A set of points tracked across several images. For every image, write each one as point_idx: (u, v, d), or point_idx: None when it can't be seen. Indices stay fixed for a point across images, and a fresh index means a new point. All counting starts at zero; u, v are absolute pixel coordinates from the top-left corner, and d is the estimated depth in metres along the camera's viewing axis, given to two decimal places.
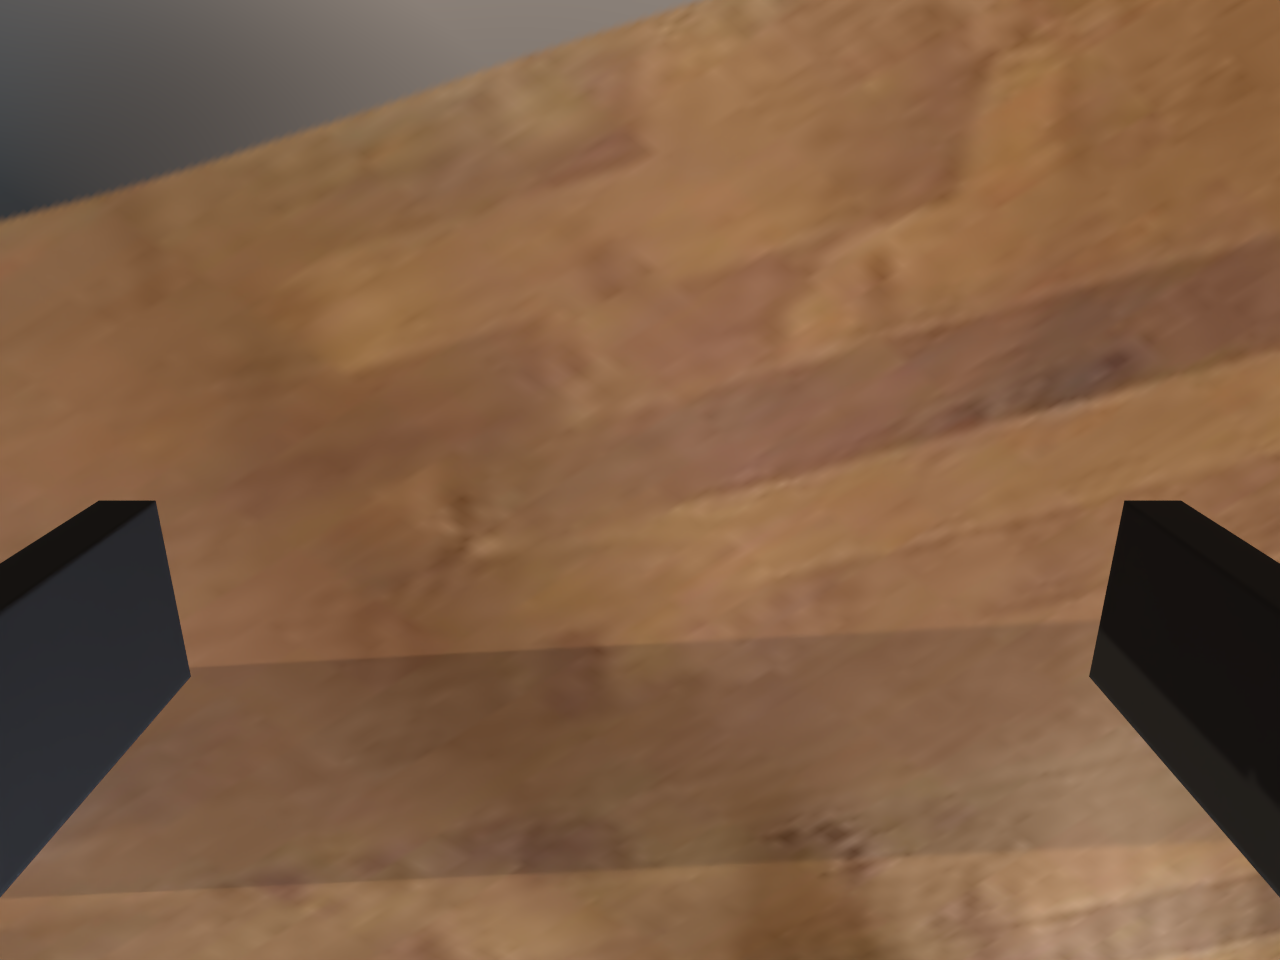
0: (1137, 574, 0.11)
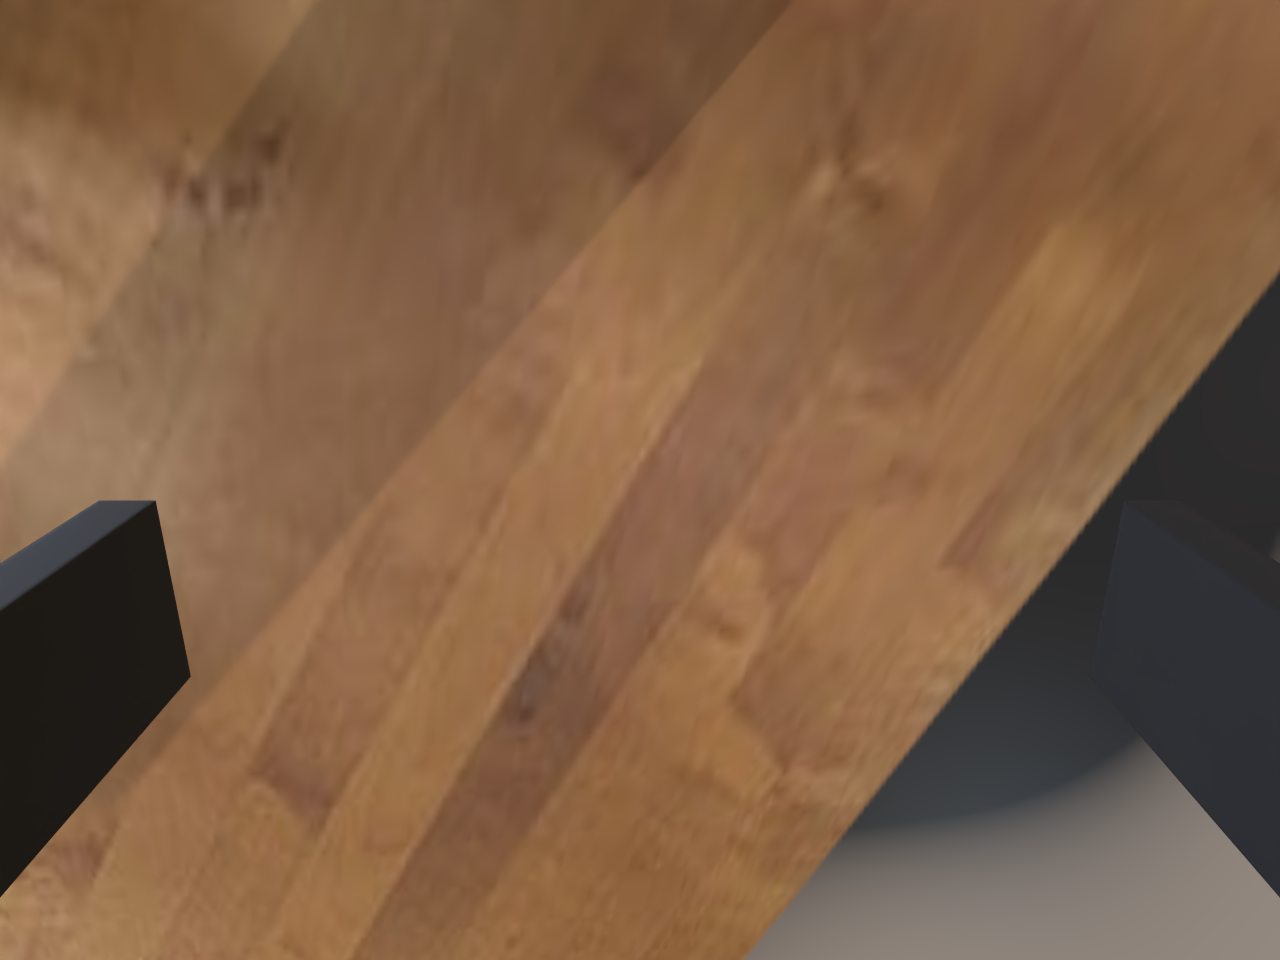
0: (1137, 574, 0.11)
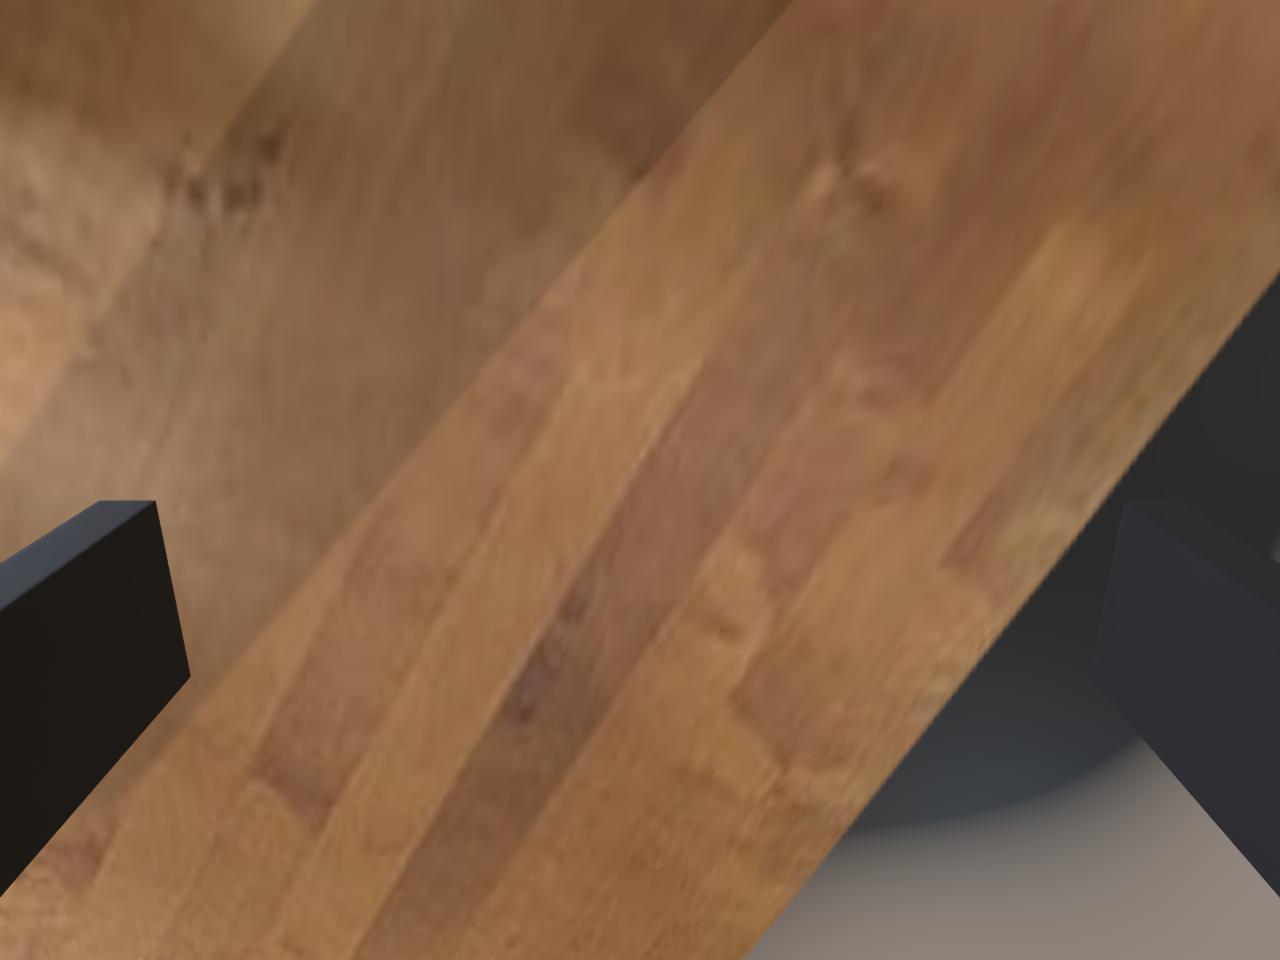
0: (1137, 574, 0.11)
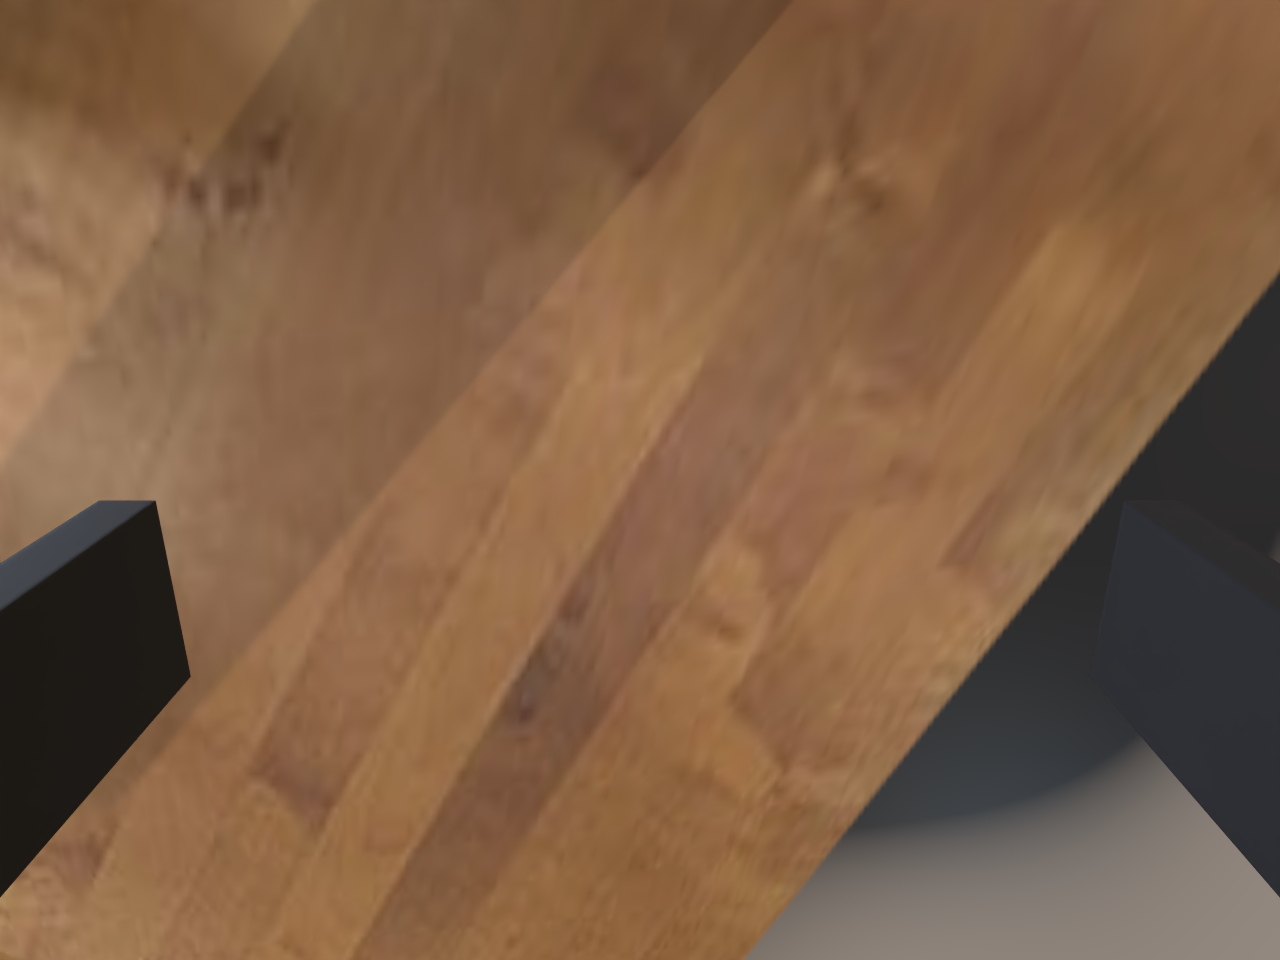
0: (1137, 574, 0.11)
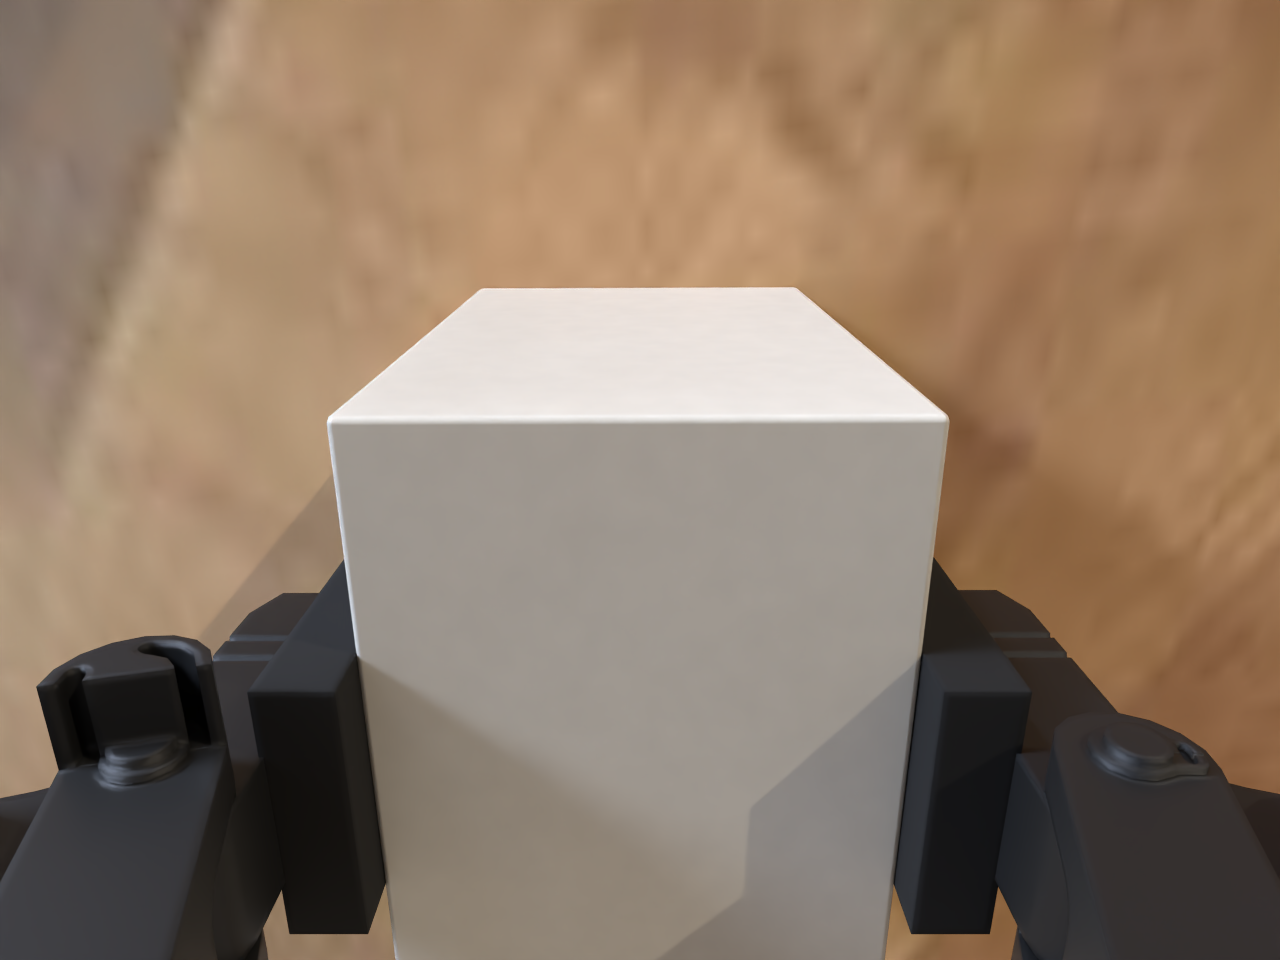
0: None
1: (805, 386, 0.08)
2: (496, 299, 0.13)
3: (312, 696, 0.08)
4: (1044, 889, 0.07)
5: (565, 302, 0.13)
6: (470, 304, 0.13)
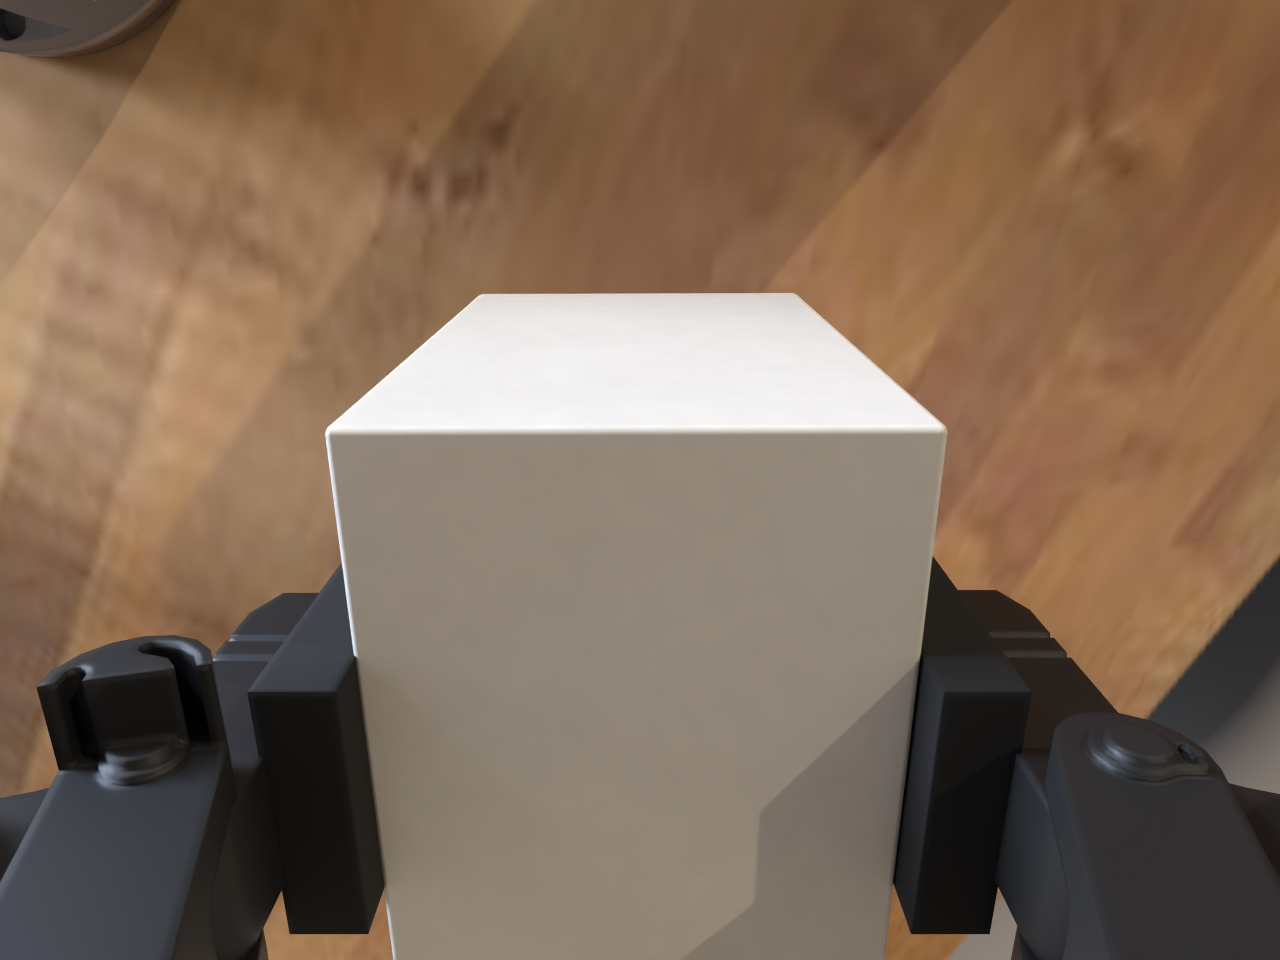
0: None
1: (803, 396, 0.08)
2: (495, 305, 0.13)
3: (312, 696, 0.08)
4: (1044, 889, 0.07)
5: (564, 308, 0.13)
6: (469, 310, 0.13)
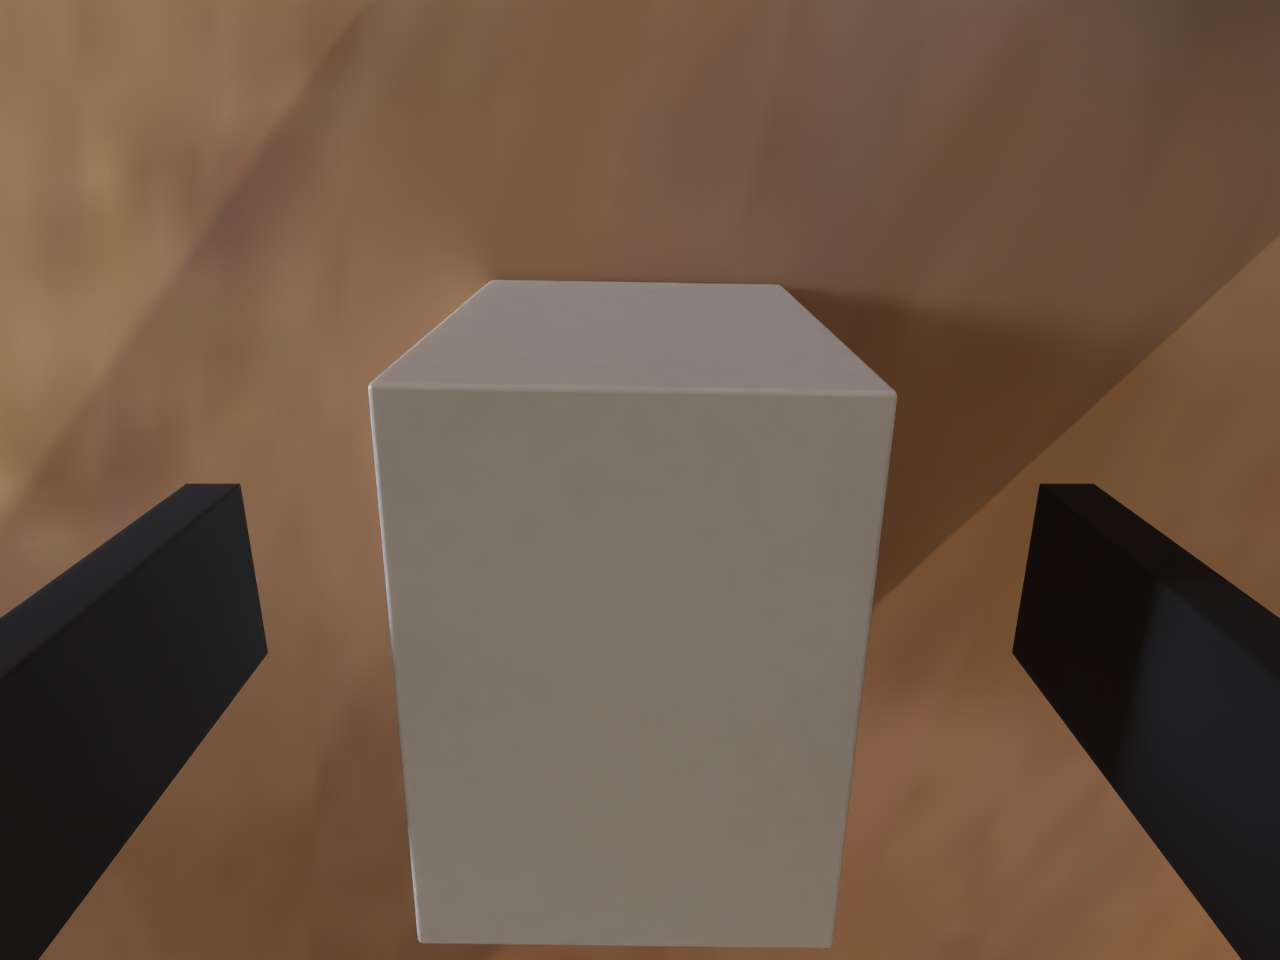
0: (1050, 553, 0.12)
1: (778, 367, 0.10)
2: (506, 289, 0.15)
3: None
4: None
5: (569, 293, 0.14)
6: (482, 293, 0.14)
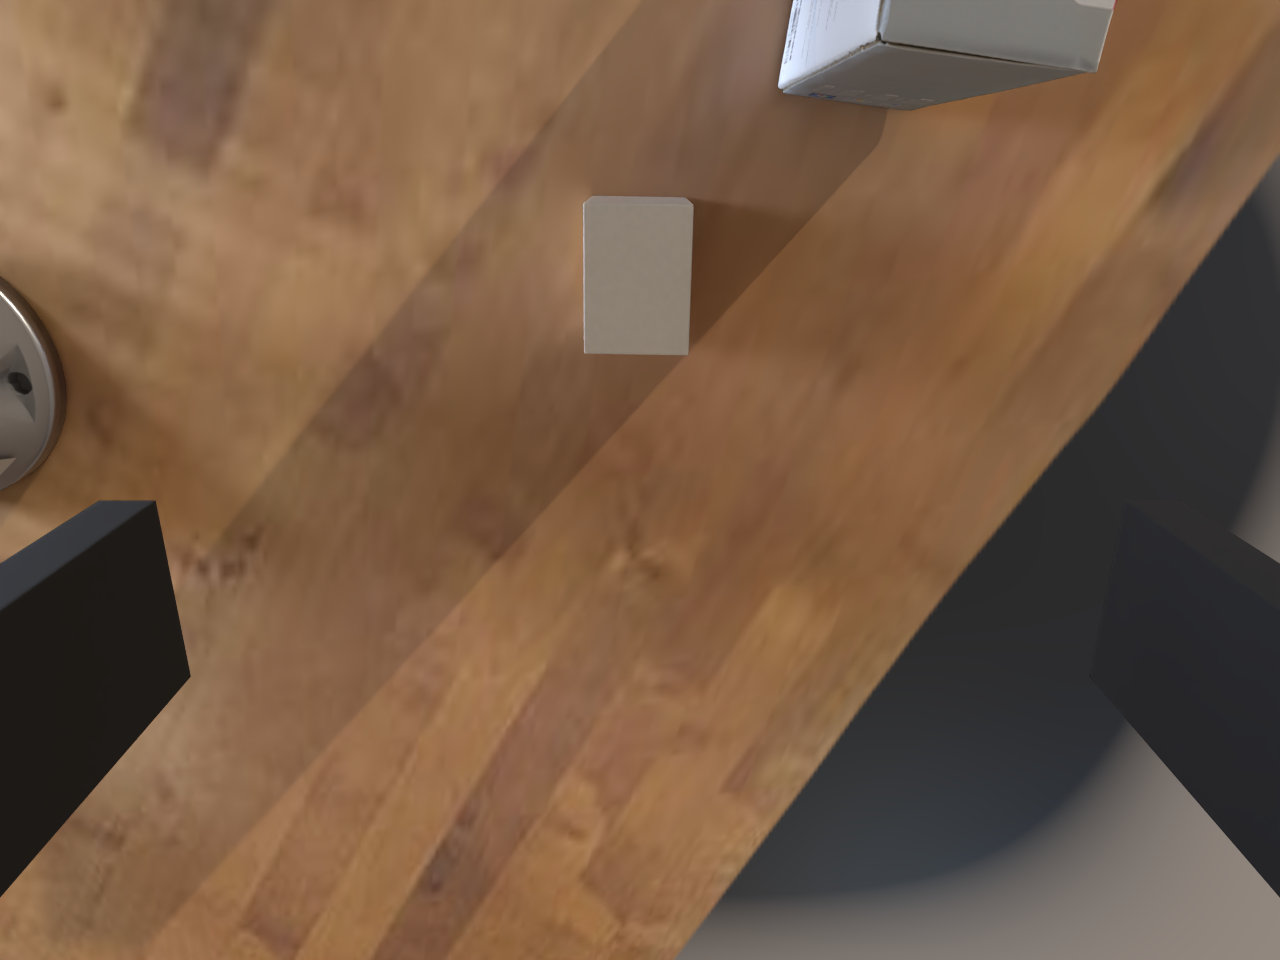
0: (1137, 574, 0.11)
1: None
2: (598, 196, 0.48)
3: None
4: None
5: (618, 197, 0.48)
6: None
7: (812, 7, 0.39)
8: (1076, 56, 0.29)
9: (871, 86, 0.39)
